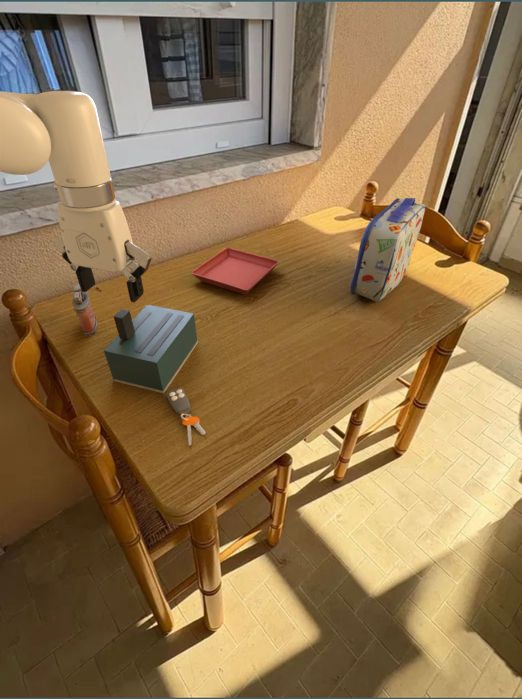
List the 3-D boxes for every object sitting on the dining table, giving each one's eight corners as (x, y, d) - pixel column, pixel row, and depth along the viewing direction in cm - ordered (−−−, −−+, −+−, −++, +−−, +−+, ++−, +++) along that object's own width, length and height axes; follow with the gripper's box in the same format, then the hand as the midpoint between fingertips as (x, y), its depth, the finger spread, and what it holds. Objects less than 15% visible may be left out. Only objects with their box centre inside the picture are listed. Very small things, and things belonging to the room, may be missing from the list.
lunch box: (377, 259, 116) (394, 184, 102) (411, 268, 112) (434, 191, 98) (343, 301, 98) (358, 217, 84) (382, 313, 94) (405, 228, 80)
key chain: (164, 396, 73) (163, 391, 72) (182, 390, 74) (181, 384, 73) (189, 447, 64) (188, 441, 63) (209, 438, 66) (209, 433, 65)
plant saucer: (191, 282, 104) (189, 271, 102) (227, 256, 116) (226, 246, 114) (247, 301, 98) (247, 290, 96) (279, 271, 110) (280, 260, 108)
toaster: (113, 381, 76) (102, 350, 70) (153, 333, 87) (146, 303, 82) (163, 393, 73) (156, 362, 68) (198, 342, 85) (194, 312, 80)
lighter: (83, 317, 92) (69, 281, 85) (97, 315, 92) (86, 278, 86) (81, 337, 86) (67, 300, 79) (97, 334, 87) (84, 297, 80)
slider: (119, 338, 73) (113, 316, 69) (127, 330, 75) (121, 308, 71) (128, 340, 72) (122, 318, 69) (135, 332, 74) (129, 310, 71)
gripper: (19, 193, 55) (56, 295, 66) (125, 209, 51) (145, 313, 62) (55, 179, 60) (84, 274, 71) (152, 192, 57) (167, 291, 68)
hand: (112, 293), depth 67 cm, fingers open, 9 cm apart
